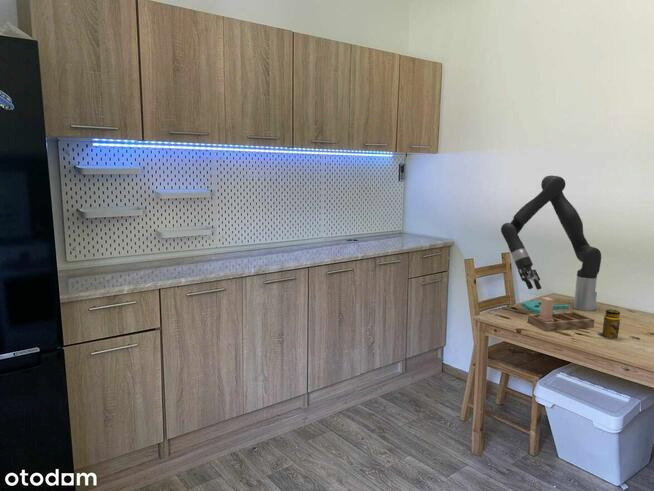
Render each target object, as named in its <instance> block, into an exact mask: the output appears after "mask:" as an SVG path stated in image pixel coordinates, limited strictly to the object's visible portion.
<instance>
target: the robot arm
mask: <svg viewBox="0 0 654 491" xmlns="http://www.w3.org/2000/svg"><path fill="white" fill-rule="evenodd" d="M540 185H541V189H542V190H541V191H540V193H538V194H537V195H536V196H535V197H534V198H532V199H531V200H530V201H528V202H526V203H525V204H524V205H523V206H521V208H520V209H519V210H518V211H517V212H516V213H515V214H514V216H513V218H512V220H511V221H510V222H506V223H503V224H502V225H501V228H500V232H501V234H502V237H503V238H504V240H505V242H506V244H507V247H508V250H509V252H510V254H511V256H512V259H513V262H514V265H515V267H516V269H517V271H518V274H519V276H520V279H521V281H522V282H524V283H525V285H526V287H527V288H528V290H532V289H534V286H535V288H536V290H541V289H542V286H541V284H540V281H541V278H540V276H539V274H538V272H537V269H533V268H532V266H533V265H534V264H533V262H532V260H531V257H530V255H529V252H528V251H527V249H526V248H525V245H524V244H523V241H522V240H521V239H520V236H519V233H520V232H521V231H522V229H524V227H525V225H526V224H527V223H528V222H529V221H531V219H532V218H533V217H534V216H535V215H536V214H537V213H538V212H539V211H541V209H542V208H543V207H544V206H545V205H547V204H548V203H549V202H550V204H551V205H552V207H553V208H552V209H554V212H555V214H556V216H557V218H558V221H559V223H560V224H561V226H562V228H563V229H564V232H565V234H566V235H567V238H568V239H569V241H570V242H571V245H572V248H573V251H574V254H575V257H576V258H577V260H578V261H580V262H581V263H582V264H581V268H580V269H578V270H577V272H576V282H575V291H574V299H573V301H574V302H573V308H574V309H576V310H579V311H589V312H590V311H595V310H596V306H597V294H598V293H597V292H596V288H597V280H598V275H599V272H600V270H601V263H602V252H601V250H600V249H599V248H596V247H594V246H591V245H590V244H589V243H588V240H587V238H586V237H585V234H584V226H583V220H582V219H581V216H580V214H579V213H578V211H577V209H576V208H575V207H574V206H573V204H571V202H570V201H569V200H568V199H567V198H566V196H565V194H564V192H563V191H564V189H565V187H566V180H565V179H564V178H563V177H561V176H558V175H546V176H545V177H543V179H542V180H541V184H540ZM532 282H533V284H534V285H533V284H532Z"/></svg>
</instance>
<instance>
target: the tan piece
mask: <svg viewBox="0 0 654 491" xmlns="http://www.w3.org/2000/svg"><path fill="white" fill-rule="evenodd" d="M554 301H555V299H553V298H550V297H548V296H546V297H543V296H542V297H541V299H540V302H541V308H540V317H537V318H539V319H541V320H543V321H545V322H554V320H553V319H552V314H553V311H554V309H553V305H554V303H555V302H554Z"/></svg>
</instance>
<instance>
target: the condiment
mask: <svg viewBox="0 0 654 491" xmlns="http://www.w3.org/2000/svg"><path fill="white" fill-rule="evenodd" d="M620 314H621V312H620V311H619V310H617V309H610V308H608V309H606V310H605V315H604V317H603V325H602V326H603V327H602V332H600V331H596V338H600V339H601V338H602V339H607V340H614V341H620V337H619V334H620V323H621V318H620Z"/></svg>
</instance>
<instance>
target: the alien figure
mask: <svg viewBox="0 0 654 491" xmlns="http://www.w3.org/2000/svg"><path fill="white" fill-rule="evenodd" d="M521 307H522V308H524V309H525V308H526V310H527V311H529V310H530V313H533V312H534V313H533V314H538V313H539V314H540V308H541V300H536V301H534V300H531V301H527V300H525V301H523V302H522V303H521ZM569 307H570V305H568V304H563V305H562V304H558V305H557V304H553V313H559V312H557V310H569Z"/></svg>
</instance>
